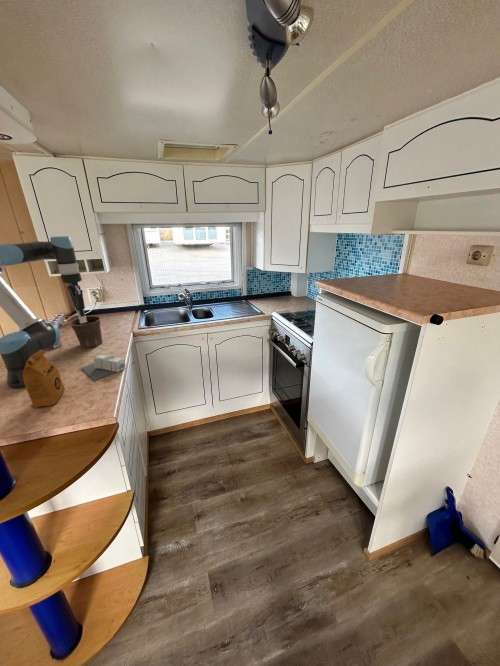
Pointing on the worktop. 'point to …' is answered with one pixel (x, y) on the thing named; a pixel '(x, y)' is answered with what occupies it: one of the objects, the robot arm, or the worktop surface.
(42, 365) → the coffee package
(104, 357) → the syrup box
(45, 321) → the candy bar box
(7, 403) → the worktop surface
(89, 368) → the rubber mat
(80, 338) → the plant pot
